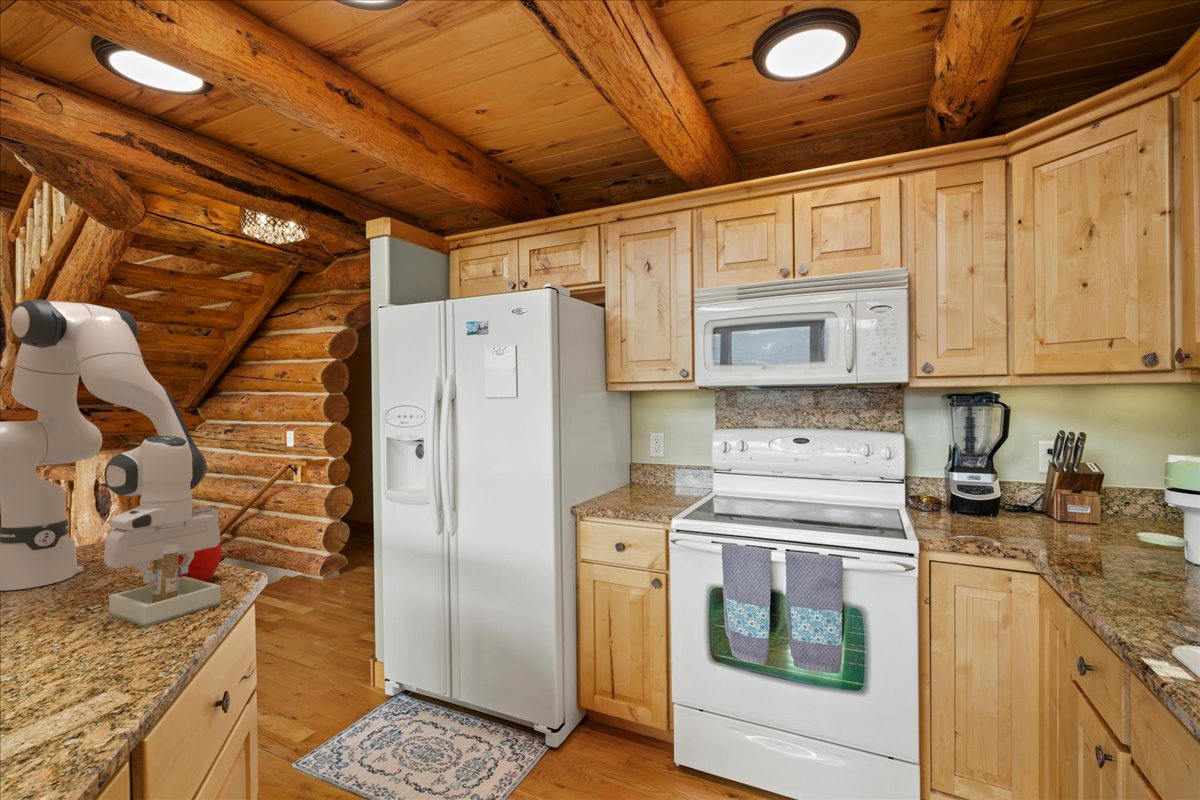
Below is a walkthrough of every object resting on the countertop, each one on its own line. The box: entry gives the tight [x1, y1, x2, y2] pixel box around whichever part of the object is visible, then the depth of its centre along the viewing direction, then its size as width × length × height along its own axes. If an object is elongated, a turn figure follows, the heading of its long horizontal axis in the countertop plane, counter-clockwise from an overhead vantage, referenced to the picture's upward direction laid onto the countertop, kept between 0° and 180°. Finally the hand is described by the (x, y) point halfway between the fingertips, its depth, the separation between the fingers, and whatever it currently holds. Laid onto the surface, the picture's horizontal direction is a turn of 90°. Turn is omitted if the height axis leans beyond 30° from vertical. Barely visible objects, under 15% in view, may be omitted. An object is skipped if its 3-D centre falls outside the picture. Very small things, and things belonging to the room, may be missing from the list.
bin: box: [108, 576, 222, 628], centre depth 118 cm, size 14×14×4 cm
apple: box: [178, 541, 223, 582], centre depth 136 cm, size 10×10×12 cm
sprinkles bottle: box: [151, 544, 179, 603], centre depth 118 cm, size 5×5×13 cm
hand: (166, 577), depth 118 cm, fingers open, 5 cm apart
